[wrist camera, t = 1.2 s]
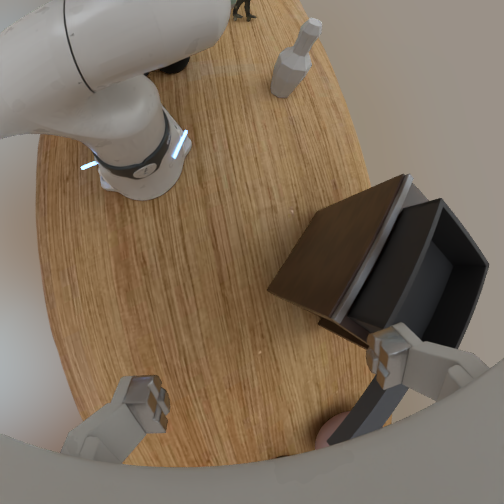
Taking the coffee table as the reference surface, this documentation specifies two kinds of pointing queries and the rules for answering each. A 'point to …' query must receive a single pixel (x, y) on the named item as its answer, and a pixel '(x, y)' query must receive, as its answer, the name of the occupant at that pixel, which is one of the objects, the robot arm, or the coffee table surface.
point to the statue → (247, 9)
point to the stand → (343, 254)
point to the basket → (416, 297)
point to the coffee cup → (233, 3)
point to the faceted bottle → (295, 60)
